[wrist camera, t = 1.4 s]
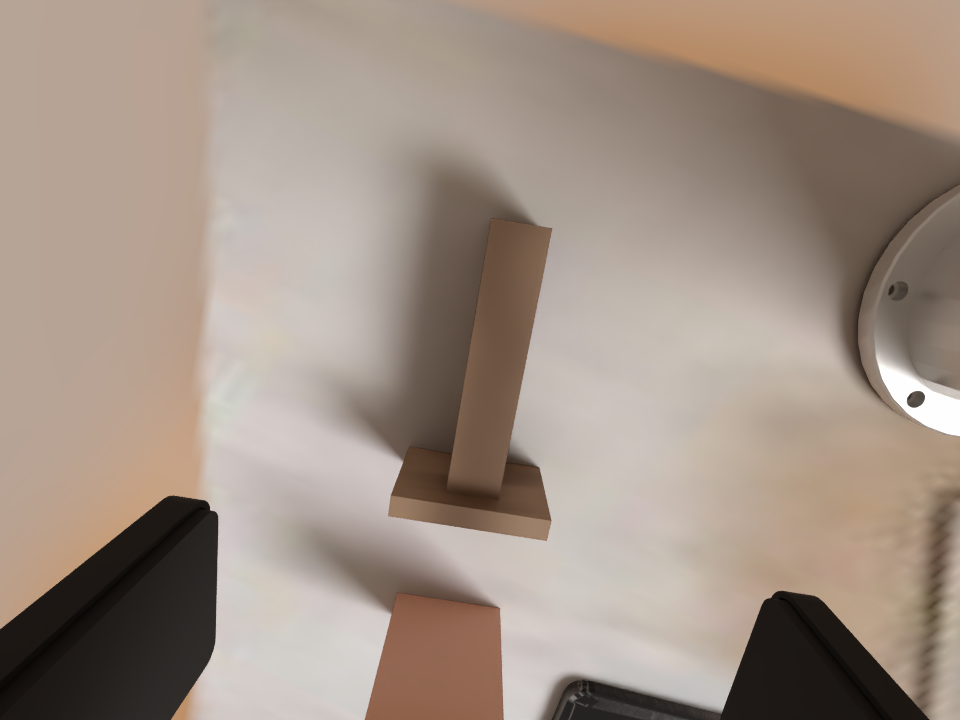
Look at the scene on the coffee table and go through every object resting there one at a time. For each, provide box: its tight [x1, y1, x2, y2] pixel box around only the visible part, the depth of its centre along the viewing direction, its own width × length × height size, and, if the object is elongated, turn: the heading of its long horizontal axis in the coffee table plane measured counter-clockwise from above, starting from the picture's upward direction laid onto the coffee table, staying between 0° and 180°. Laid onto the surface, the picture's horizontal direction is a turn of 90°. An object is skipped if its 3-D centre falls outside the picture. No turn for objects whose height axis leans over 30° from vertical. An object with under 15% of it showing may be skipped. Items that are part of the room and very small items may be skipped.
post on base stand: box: [388, 218, 552, 541], centre depth 22 cm, size 7×13×5 cm, turn 171°
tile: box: [365, 593, 504, 720], centre depth 24 cm, size 6×2×8 cm, turn 81°
